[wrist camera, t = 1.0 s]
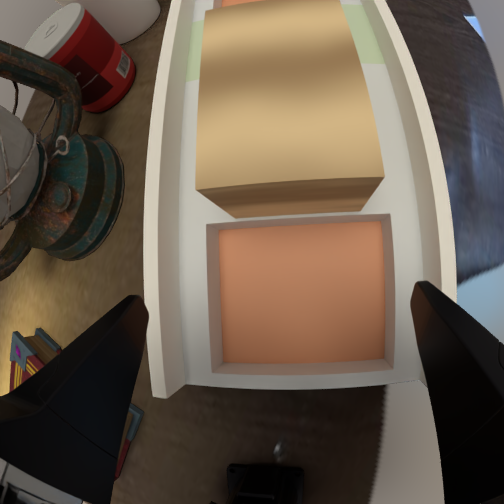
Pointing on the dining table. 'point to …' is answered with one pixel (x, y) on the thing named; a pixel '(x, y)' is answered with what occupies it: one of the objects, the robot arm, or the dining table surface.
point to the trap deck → (292, 240)
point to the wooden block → (284, 112)
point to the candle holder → (121, 16)
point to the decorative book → (38, 355)
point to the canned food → (85, 55)
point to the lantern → (53, 170)
